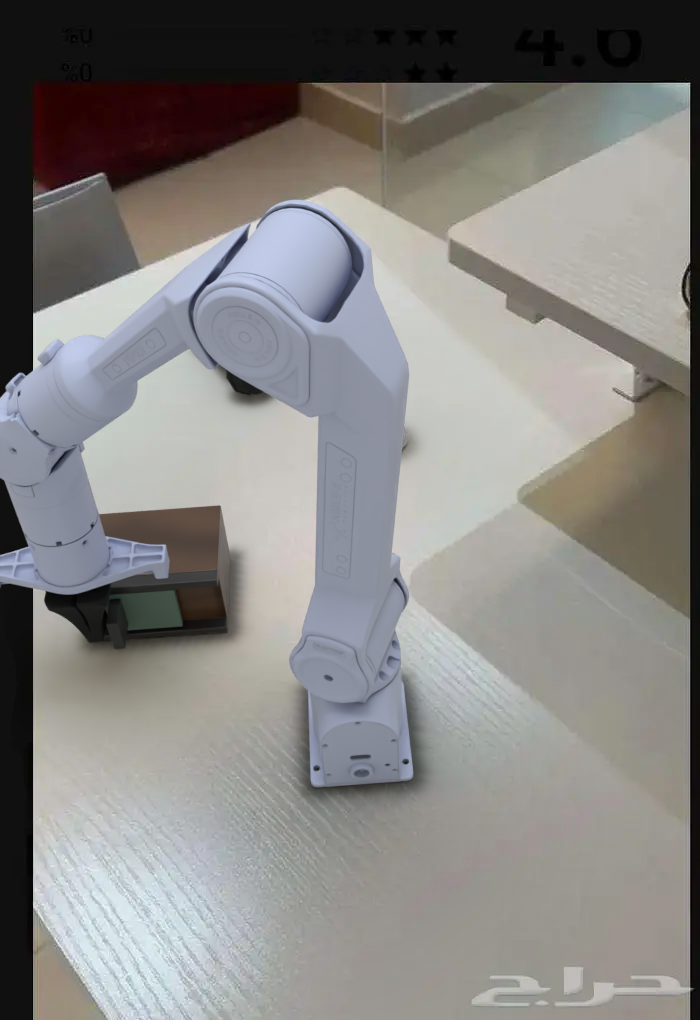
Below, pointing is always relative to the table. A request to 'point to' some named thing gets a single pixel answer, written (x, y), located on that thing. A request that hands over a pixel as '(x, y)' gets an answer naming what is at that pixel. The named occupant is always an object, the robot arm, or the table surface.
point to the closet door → (141, 613)
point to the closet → (180, 565)
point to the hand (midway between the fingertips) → (97, 633)
